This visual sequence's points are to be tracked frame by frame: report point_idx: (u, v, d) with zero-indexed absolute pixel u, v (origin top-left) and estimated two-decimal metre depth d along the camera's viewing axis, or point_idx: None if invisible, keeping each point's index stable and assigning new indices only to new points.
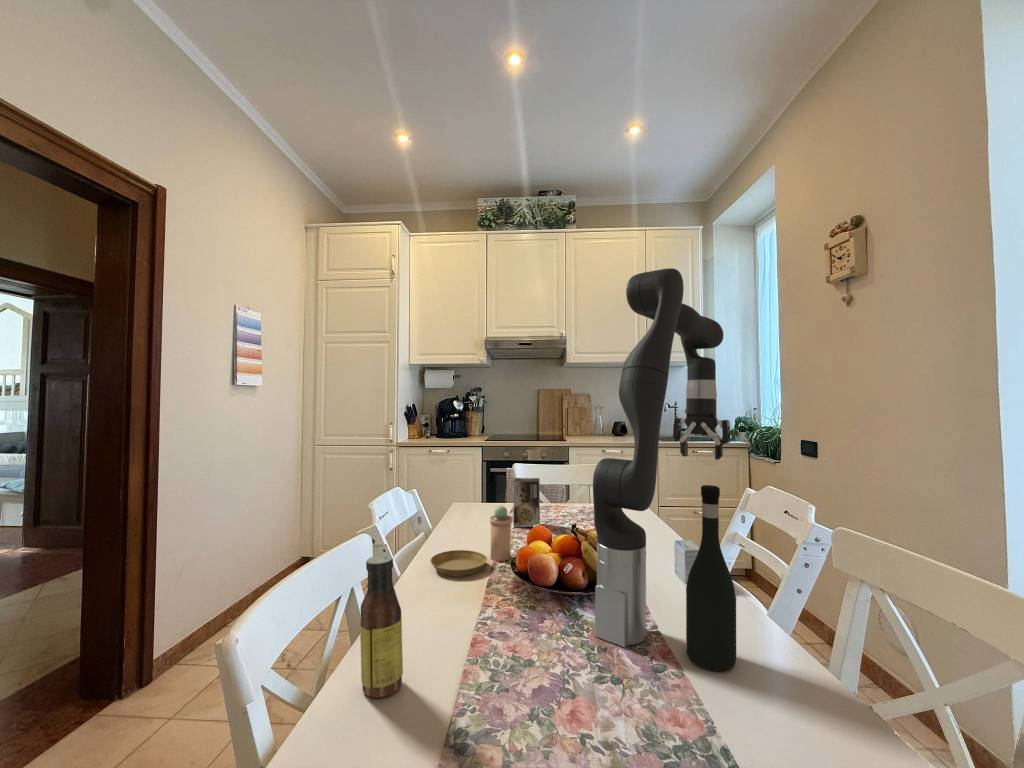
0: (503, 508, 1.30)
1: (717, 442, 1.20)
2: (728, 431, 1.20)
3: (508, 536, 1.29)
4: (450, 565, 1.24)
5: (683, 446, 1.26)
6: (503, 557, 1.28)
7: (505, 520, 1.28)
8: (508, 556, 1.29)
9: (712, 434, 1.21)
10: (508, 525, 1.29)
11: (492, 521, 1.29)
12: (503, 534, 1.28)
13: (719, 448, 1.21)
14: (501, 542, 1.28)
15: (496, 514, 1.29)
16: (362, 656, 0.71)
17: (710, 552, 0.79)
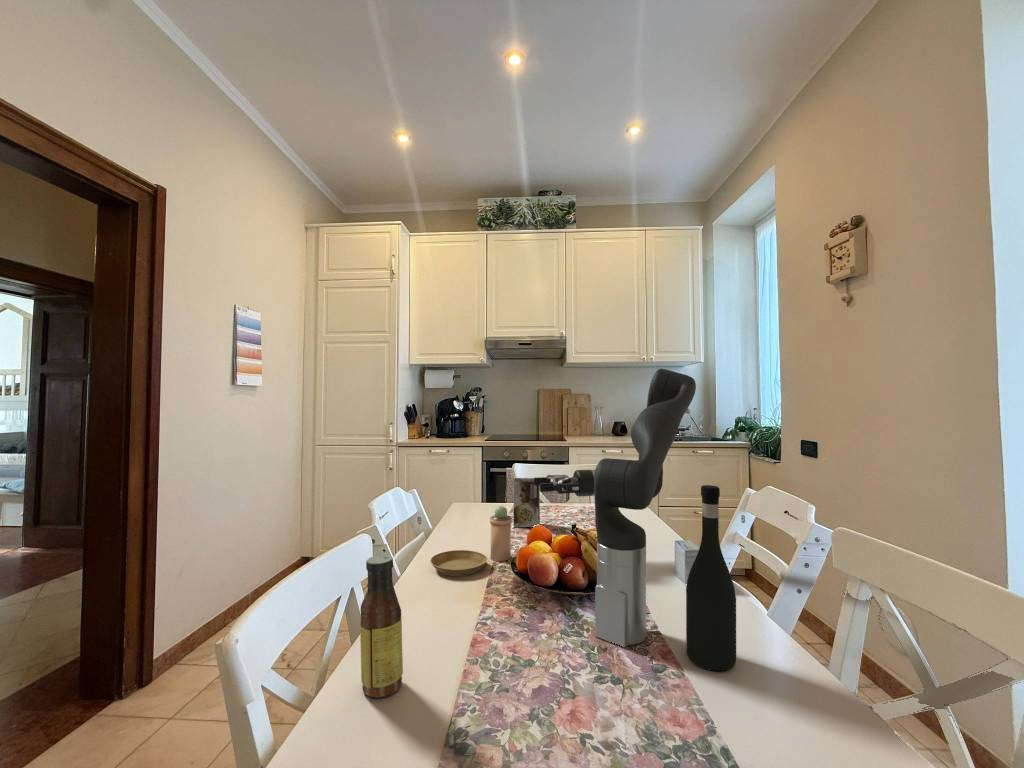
0: (503, 508, 1.30)
1: (556, 482, 1.29)
2: (569, 487, 1.27)
3: (508, 536, 1.29)
4: (450, 565, 1.24)
5: (542, 477, 1.37)
6: (503, 557, 1.28)
7: (505, 520, 1.28)
8: (508, 556, 1.29)
9: (562, 480, 1.30)
10: (508, 525, 1.29)
11: (492, 521, 1.29)
12: (503, 534, 1.28)
13: (551, 485, 1.28)
14: (501, 542, 1.28)
15: (496, 514, 1.29)
16: (362, 656, 0.71)
17: (710, 552, 0.79)
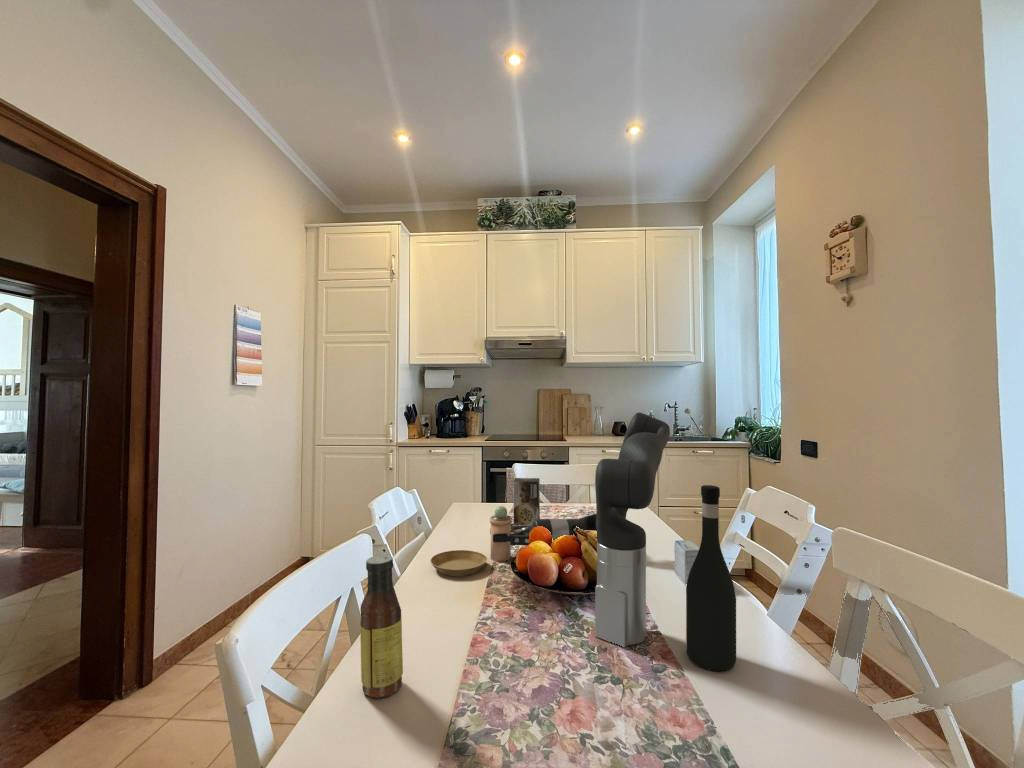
0: (503, 508, 1.30)
1: (509, 533, 1.27)
2: (521, 539, 1.25)
3: None
4: (450, 565, 1.24)
5: None
6: (503, 557, 1.28)
7: (505, 520, 1.28)
8: (508, 556, 1.29)
9: (517, 530, 1.28)
10: (508, 525, 1.29)
11: (492, 521, 1.29)
12: None
13: (504, 535, 1.27)
14: (501, 542, 1.28)
15: (496, 514, 1.29)
16: (362, 656, 0.71)
17: (710, 552, 0.79)
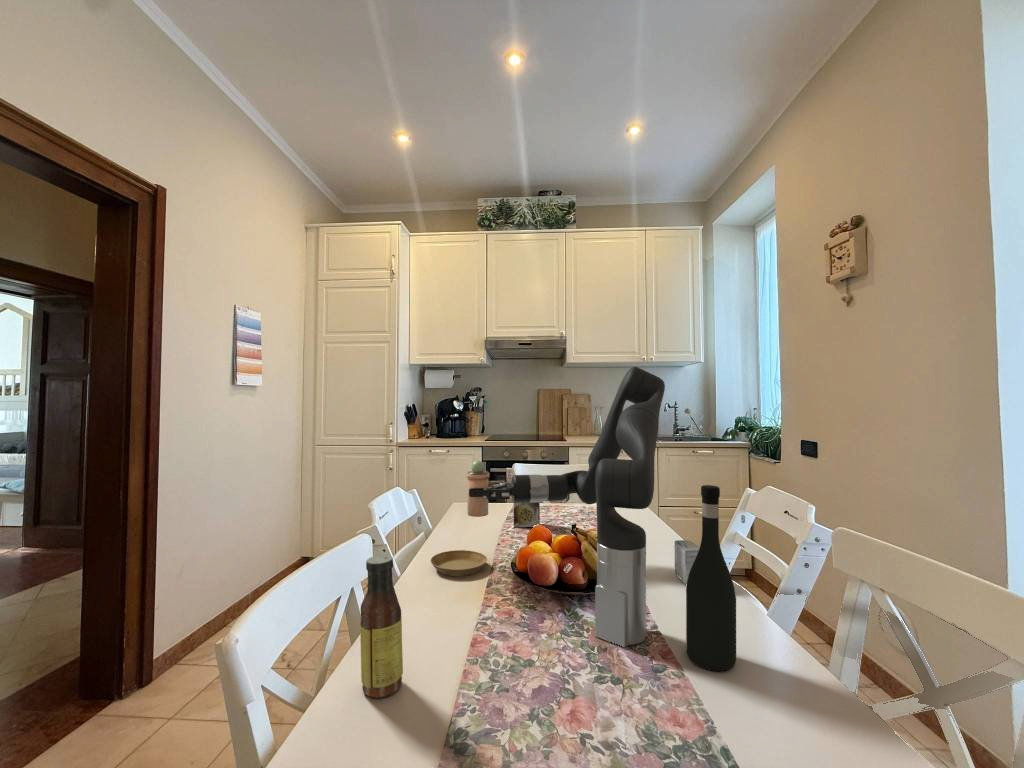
0: (480, 462, 1.26)
1: (486, 487, 1.23)
2: (497, 493, 1.21)
3: None
4: (450, 565, 1.24)
5: None
6: (480, 513, 1.24)
7: (482, 474, 1.24)
8: (485, 512, 1.25)
9: (494, 485, 1.24)
10: (485, 480, 1.25)
11: (468, 475, 1.24)
12: None
13: (480, 490, 1.23)
14: (478, 497, 1.24)
15: (473, 468, 1.25)
16: (362, 656, 0.71)
17: (710, 552, 0.79)
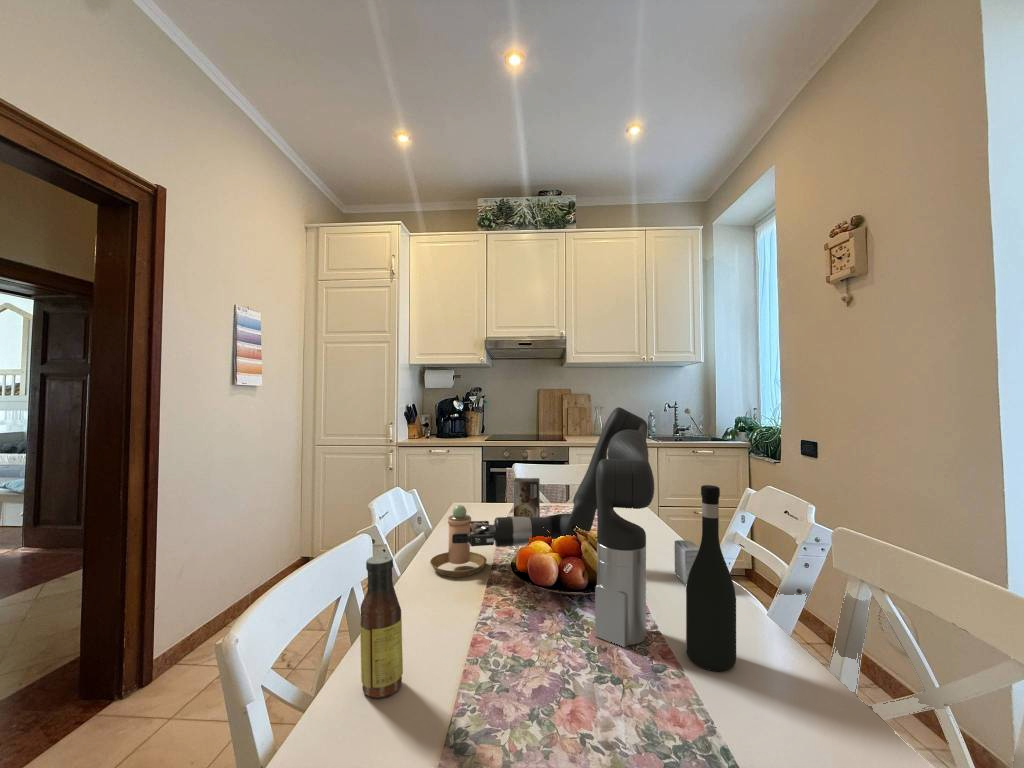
0: (462, 507, 1.22)
1: (470, 533, 1.19)
2: (482, 539, 1.17)
3: None
4: None
5: None
6: (460, 560, 1.20)
7: (463, 520, 1.20)
8: (466, 558, 1.21)
9: (477, 530, 1.20)
10: (466, 525, 1.21)
11: (449, 521, 1.21)
12: None
13: (464, 536, 1.18)
14: (459, 544, 1.20)
15: (454, 514, 1.22)
16: (362, 656, 0.71)
17: (710, 552, 0.79)
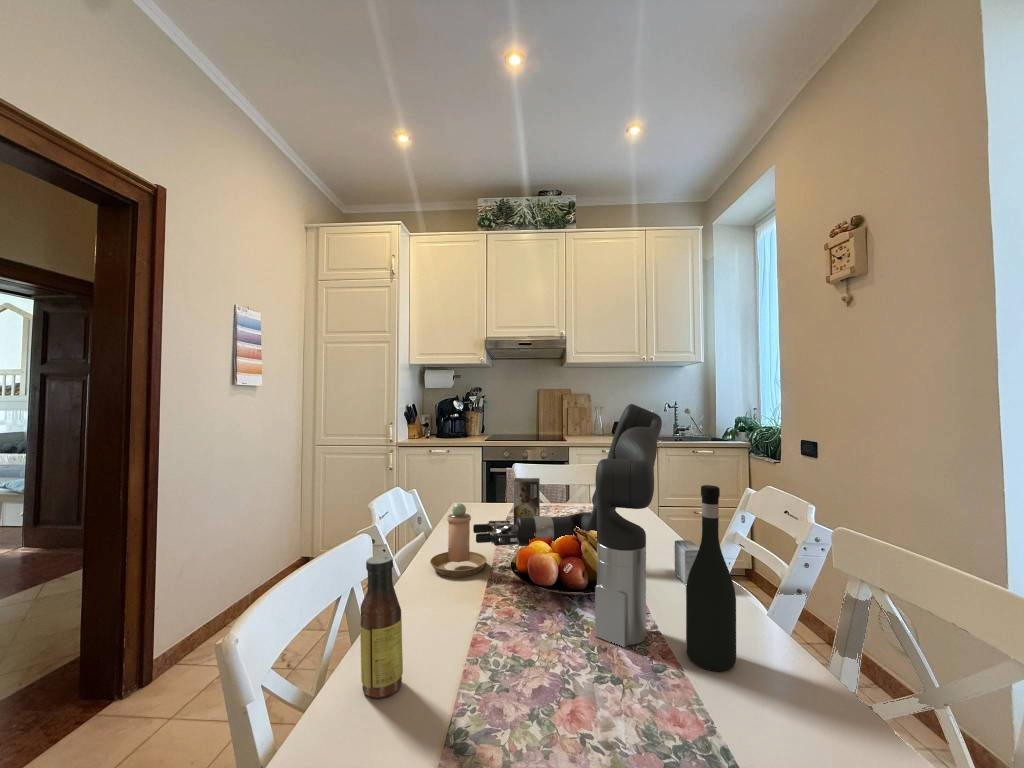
0: (461, 505, 1.23)
1: (493, 532, 1.19)
2: (506, 539, 1.18)
3: (466, 534, 1.22)
4: None
5: (483, 524, 1.28)
6: (460, 558, 1.20)
7: (463, 517, 1.21)
8: (466, 556, 1.21)
9: (500, 529, 1.21)
10: (466, 523, 1.22)
11: (449, 519, 1.22)
12: (460, 532, 1.21)
13: (487, 535, 1.19)
14: (459, 541, 1.20)
15: (454, 511, 1.22)
16: (362, 656, 0.71)
17: (710, 552, 0.79)
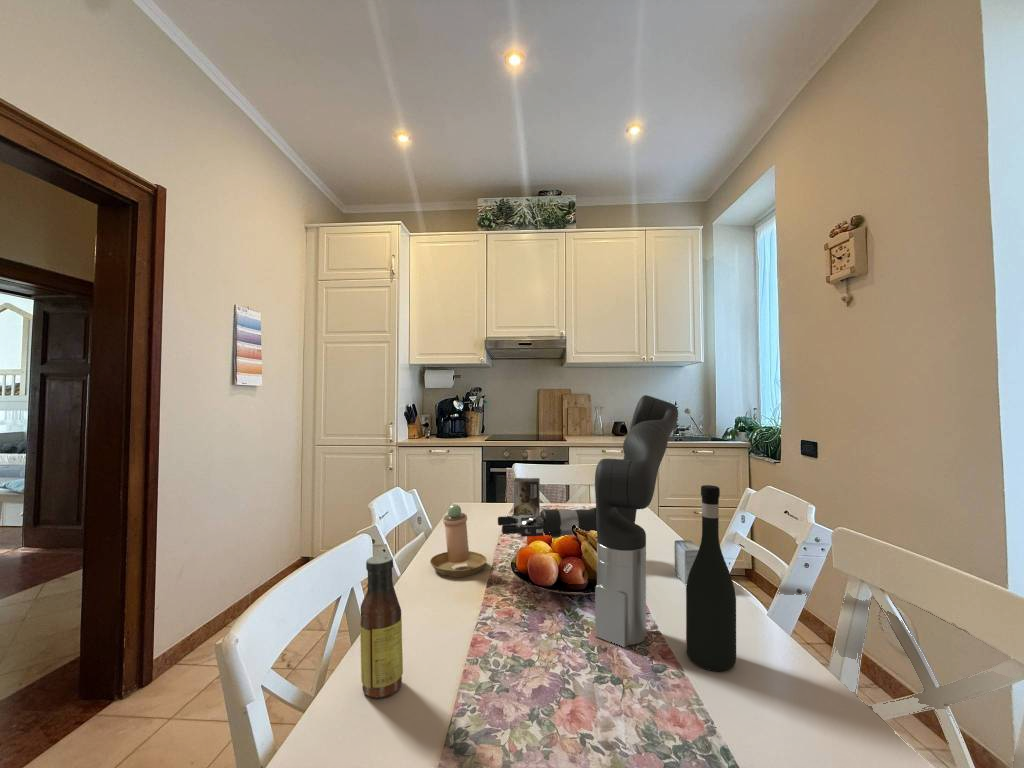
0: (456, 506, 1.21)
1: (519, 524, 1.21)
2: (532, 530, 1.19)
3: (464, 535, 1.21)
4: (449, 566, 1.24)
5: (507, 516, 1.29)
6: (461, 558, 1.20)
7: (460, 519, 1.20)
8: (467, 556, 1.21)
9: (526, 521, 1.22)
10: (463, 523, 1.21)
11: (446, 522, 1.20)
12: (459, 534, 1.20)
13: (513, 527, 1.20)
14: (458, 543, 1.20)
15: (449, 514, 1.21)
16: (362, 656, 0.71)
17: (710, 552, 0.79)
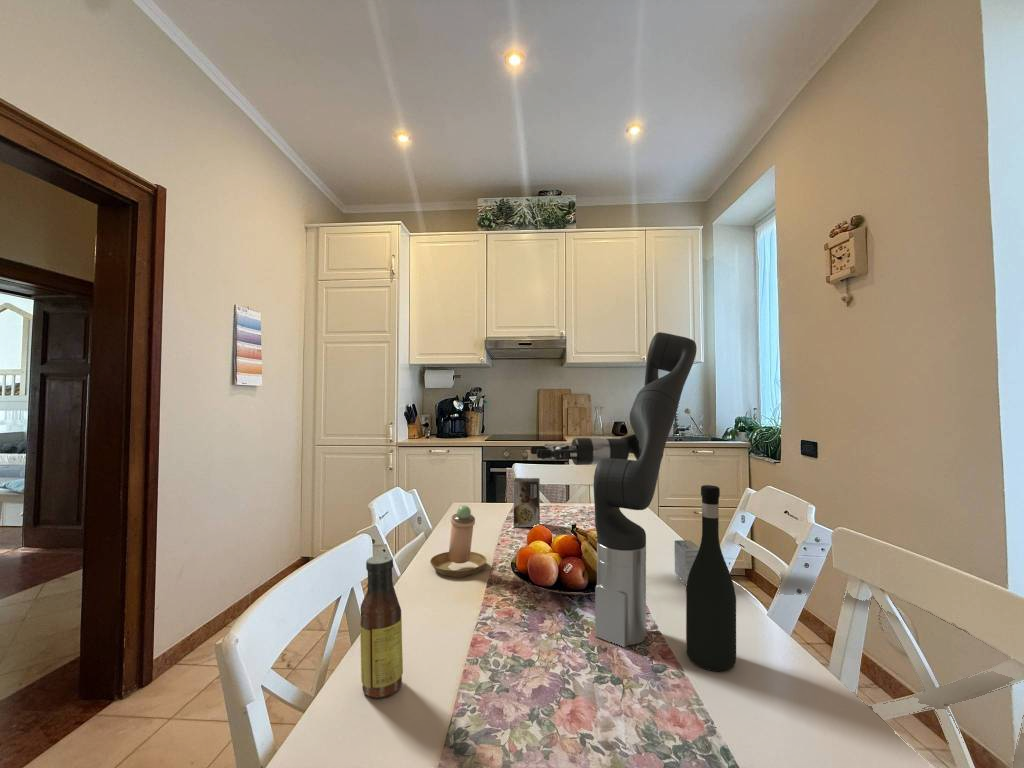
0: (468, 508, 1.20)
1: (553, 449, 1.24)
2: (567, 453, 1.22)
3: (471, 536, 1.21)
4: None
5: (540, 446, 1.33)
6: (466, 559, 1.20)
7: (471, 522, 1.19)
8: (469, 556, 1.22)
9: (560, 447, 1.26)
10: (472, 525, 1.20)
11: (457, 524, 1.18)
12: (468, 536, 1.19)
13: (548, 451, 1.24)
14: (466, 544, 1.19)
15: (461, 516, 1.19)
16: (362, 656, 0.71)
17: (710, 552, 0.79)
